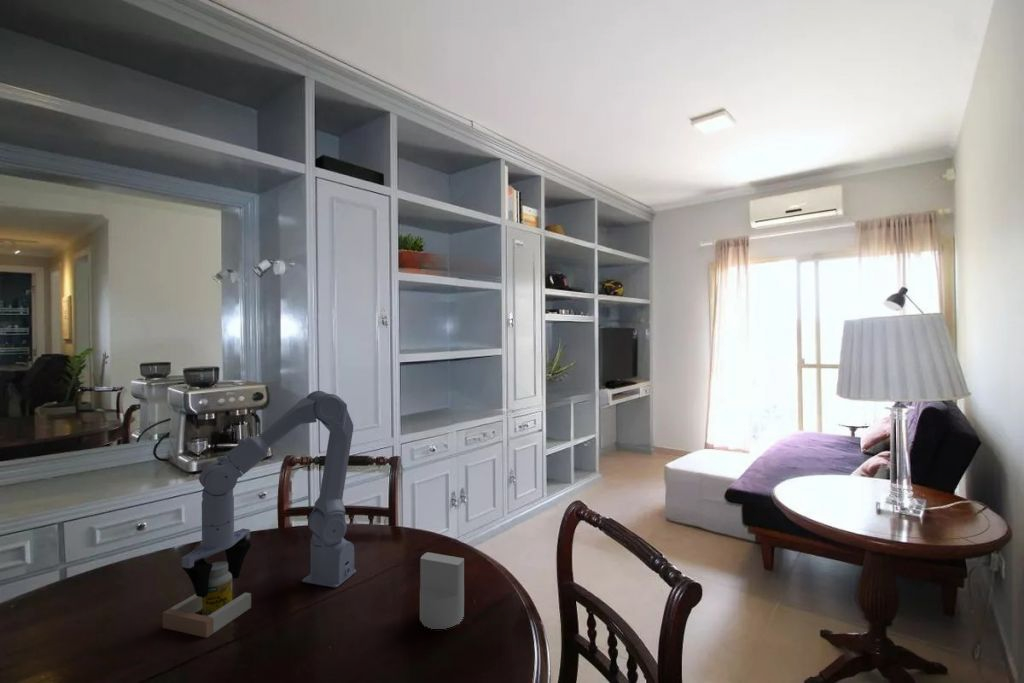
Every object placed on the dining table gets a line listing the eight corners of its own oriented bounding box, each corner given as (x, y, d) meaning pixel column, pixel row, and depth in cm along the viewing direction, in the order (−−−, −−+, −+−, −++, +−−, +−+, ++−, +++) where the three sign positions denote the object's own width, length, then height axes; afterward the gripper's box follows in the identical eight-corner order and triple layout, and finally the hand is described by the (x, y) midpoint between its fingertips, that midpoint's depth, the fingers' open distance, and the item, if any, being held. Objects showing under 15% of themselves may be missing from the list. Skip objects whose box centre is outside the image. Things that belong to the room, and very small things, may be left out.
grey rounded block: (471, 609, 100) (471, 552, 100) (452, 634, 91) (452, 572, 91) (433, 601, 103) (433, 546, 103) (411, 624, 94) (411, 564, 94)
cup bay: (251, 607, 100) (251, 593, 100) (206, 637, 90) (206, 622, 90) (210, 599, 103) (210, 585, 103) (162, 627, 93) (162, 612, 93)
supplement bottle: (232, 601, 102) (232, 557, 102) (232, 614, 98) (232, 567, 98) (202, 608, 100) (203, 562, 100) (200, 621, 95) (200, 574, 95)
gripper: (232, 507, 107) (232, 567, 107) (169, 533, 93) (170, 602, 93) (257, 510, 105) (257, 571, 105) (197, 537, 91) (198, 607, 91)
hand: (218, 586), depth 99 cm, fingers open, 7 cm apart
